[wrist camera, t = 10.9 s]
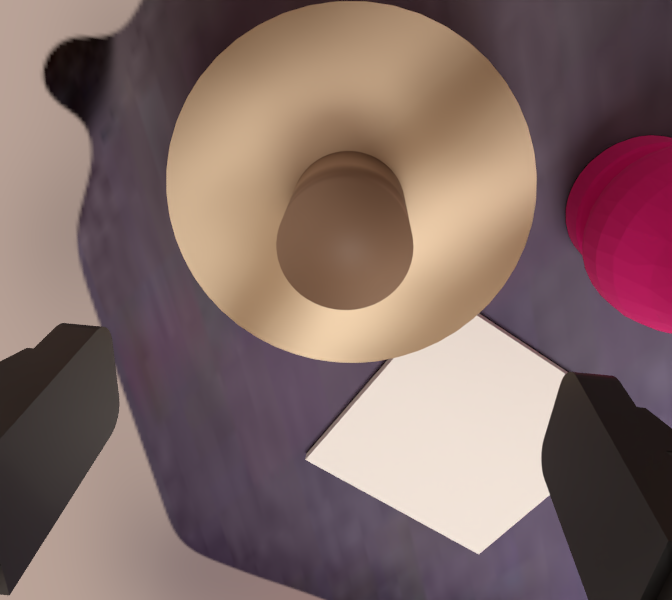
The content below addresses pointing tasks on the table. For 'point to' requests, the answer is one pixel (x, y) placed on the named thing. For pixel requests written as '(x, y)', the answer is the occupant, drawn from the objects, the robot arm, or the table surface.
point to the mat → (451, 433)
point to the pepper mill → (628, 227)
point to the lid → (351, 181)
